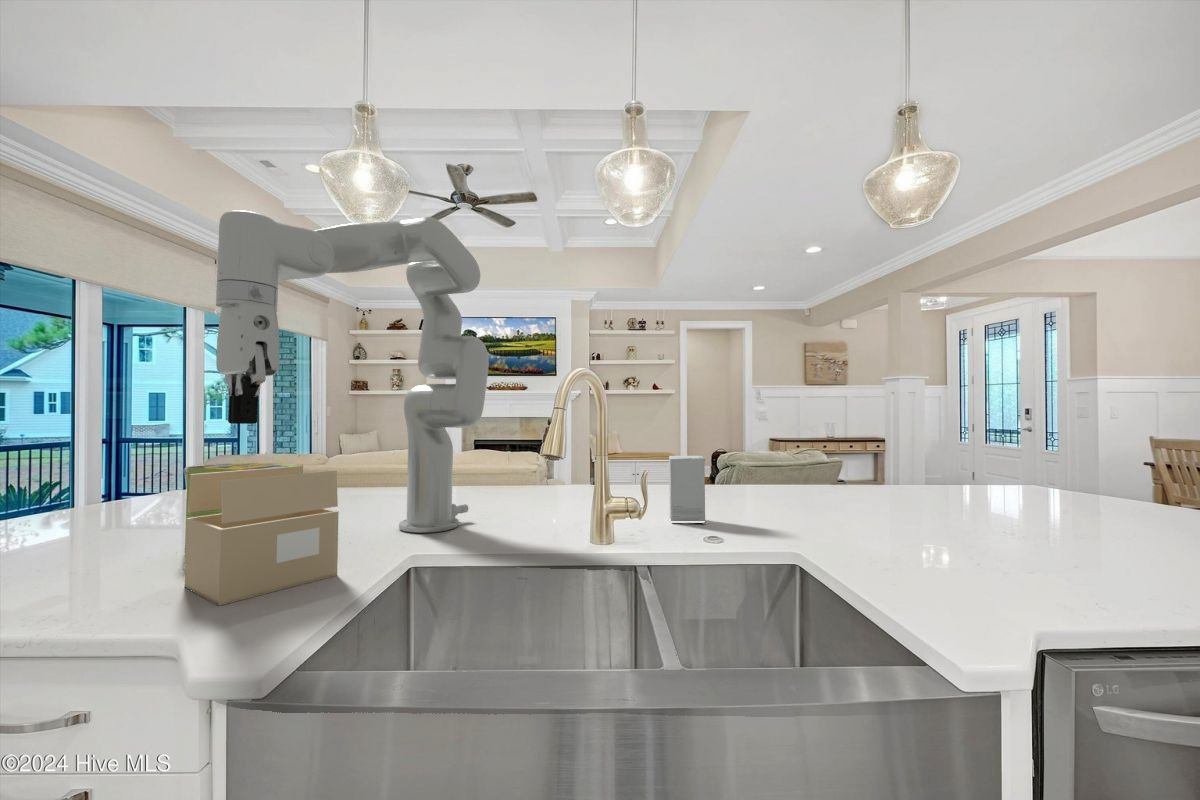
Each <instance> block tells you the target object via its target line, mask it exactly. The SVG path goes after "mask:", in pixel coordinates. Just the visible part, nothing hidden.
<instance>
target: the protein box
mask: <svg viewBox="0 0 1200 800" xmlns="http://www.w3.org/2000/svg"><path fill="white" fill-rule="evenodd" d="M290 466H302V474H304V473H303V472H304V464H296V463H277V462H276V463H274V462H273V463H272V462H270V463H269V462H239V461H238V462H229V463H227V462H226V463H219V464H218V463H217V464H216V463H215V464H208V465H207V464H206V465H195V466H194V465H193V466H188V467H187V471H186V472H187V474H186V476H187V478H186V500H185V501H186V503H185V504H186V506H185V507H186V508H185V519H186V518H192V517H199V516H206V515H214V514H221V513H222V509H214V510H206V511H198V512H191V513H188V503H189V488H190V474H201V473H213V472H226V471H239V470H251V469H264V468H277V467H290ZM184 533H185V536H184V537H185V539H184V553H185V552H186V530H185V532H184Z"/></svg>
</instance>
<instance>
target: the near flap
mask: <svg viewBox="0 0 1200 800" xmlns="http://www.w3.org/2000/svg"><path fill="white" fill-rule="evenodd" d="M337 471H338V470H329V471H328V470H327V471H318V472H317V471H316V472H304V473H303V474H293V475H282V476H271V477H260V478H249V479H238V480H227V481H221V497H222V523H230V522H236V521H243V520H250V519H257V518H263V517H270V516H277V515H284V514H290V513H297V512H304V511H310V510H317V509H324V508H326V509H330V508H336V507H338V506H339V505H338V504H339V502H338V500H339V499H338V498H339V497H338V475H337V474H338V473H337Z"/></svg>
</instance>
